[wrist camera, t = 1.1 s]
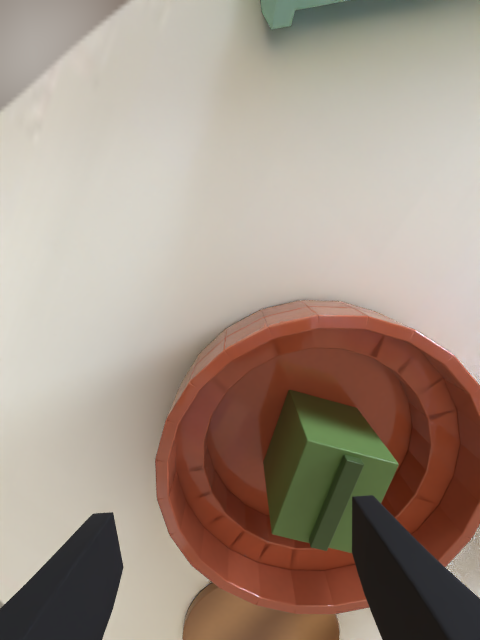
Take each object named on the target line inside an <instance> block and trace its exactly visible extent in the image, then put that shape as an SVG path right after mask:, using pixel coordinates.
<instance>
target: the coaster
mask: <svg viewBox="0 0 480 640" xmlns="http://www.w3.org/2000/svg"><path fill="white" fill-rule="evenodd" d="M183 640H339V624H338V620H337V616H336V614H294V613H288V612H284V611H279V610H275V609H270V608H266V607H261V606H257V605H254V604H252V603H250V602H248V601H245V600H243V599H241V598H239V597H237V596H235V595H233V594H230V593H228V592H226V591H224V590H222V589H220V588H219V587H217V586H216V585H215V584H214V583H211V584H210V585H208V586H207V587H206V588H204V589H203V590H202V591H201V592H200V593H199V594H198V595H197V597H196V598H195V599H194V600H193V602H192V604H191V605H190V607H189V609H188V612H187V614H186V618H185V622H184V628H183Z"/></svg>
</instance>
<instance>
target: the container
mask: <svg viewBox="0 0 480 640" xmlns="http://www.w3.org/2000/svg"><path fill="white" fill-rule="evenodd" d="M260 1H261V9H262V13H263V15H264V17H265V19H266V21H267V23H268V24H269V26H270V28H271V30H272V29H277V28H283V27H288V26H291V24H292V20H293V17H294V13H295V10H300V9H306V8H311V7H317V6H322V5H327V4H333V3H338V2H344V1H349V0H260Z"/></svg>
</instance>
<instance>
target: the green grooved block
mask: <svg viewBox="0 0 480 640" xmlns="http://www.w3.org/2000/svg"><path fill="white" fill-rule="evenodd" d="M263 465H264V474H265V482H266V490H267V499H268V507H269V515H270V523H271V532H272V534H273V535H277V536H281V537H285V538H290V539H294V540H298V541H302V542H306V543H310V547H311V548H315V549H319V550H324V551H327V550H328V548H332V549H336V550H340V551H344V552H348V553H352V497H353V496H368V495H373V496H374V497H375V498H376V499H377V500H378V501H379V502H380V503H382V500H383V498H384V496H385V494H386V492H387V489H388V487H389V485H390V483H391V481H392V479H393V476H394V474H395V472H396V470H397V468H398V465H399V464H398V462H397V461H396V459H395V458H394V457H393V455H392V454H391V453H390V451H389V450H388V449H387V447H386V446H385V445H384V443H383V442H382V441H381V439H380V438H379V437H378V435H377V434H376V433H375V431H374V430H373V429H372V427H371V426H370V425H369V423H368V422H367V421H366V419H365V418H364V417H363V415H362V414H361V412H360V411H359V410H358V408H356V407H352V406H348V405H345V404H341V403H337V402H334V401H330V400H326V399H323V398H319V397H315V396H311V395H308V394H304V393H300V392H297V391H293V390H289V391H288V393H287V396H286V399H285V402H284V405H283V408H282V410H281V413H280V416H279V419H278V422H277V425H276V427H275V430H274V433H273V436H272V439H271V442H270V444H269V447H268V450H267V453H266V456H265V459H264V461H263Z"/></svg>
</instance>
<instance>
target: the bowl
mask: <svg viewBox="0 0 480 640" xmlns="http://www.w3.org/2000/svg"><path fill="white" fill-rule="evenodd" d="M289 390H293V391H297V392H300V393H304V394H308V395H311V396H315V397H319V398H323V399H326V400H330V401H334V402H337V403H341V404H345V405H348V406H352V407H356V408H358V410H359V411H360V412H361V414H362V415H363V417H364V418H365V419H366V421H367V422H368V423H369V425H370V426H371V427H372V429H373V430H374V431H375V433H376V434H377V435H378V437H379V438H380V439H381V441H382V442H383V443H384V445H385V446H386V447H387V449H388V450H389V451H390V453H391V454H392V455H393V457H394V458H395V459H396V461H397V462H398V464H399V465H398V468H397V470H396V472H395V474H394V476H393V479H392V481H391V483H390V485H389V487H388V489H387V492H386V494H385V496H384V498H383V500H382V503H381V504H382V505H383V506H384V507H385V508H386V509H387V510H388V511H389V512H390V513H391V514H392V515H393V516H394V517H395V519H396V520H397V521H398V522H399V523H400V524H401V525H402V526H403V527H404V528H405V529H406V530H407V531H408V532H409V533H410V534H411V535H412V536H413V537H414V538H415V539H416V540H417V541H418V542H419V543H420V544H421V545H422V546H423V547H424V548H425V549H426V550H427V551H428V552H430V553H431V554H432V555H433V556H434V557H435V558H436V559H437V560H438V561H439V562H440V563H441V564H442V565H443V566H444V567H446V566H447V565H448V564H449V563H450V562H451V561H452V560H453V558H454V557H455V556H456V555H457V554H458V553H459V552H460V551H461V550H462V549H463V548H464V547H465V545H466V544H467V543H468V542H469V541H470V540H471V538H472V537H473V536H474V534H475V532H476V530H477V528H478V526H479V525H480V385H479V384H478V383H477V382H476V380H475V379H474V378H473V377H472V376H471V374H470V373H469V372H468V371H467V370H466V369H465V367H464V366H463V365H462V364H461V363H460V361H459V360H458V359H457V358H456V357H455V355H453V354H452V353H451V352H449V351H448V350H446V349H444V348H443V347H441V346H440V345H438V344H437V343H435V342H434V341H432V340H430V339H429V338H427V337H426V336H424V335H423V334H421V333H419V332H418V331H416V330H414V329H412V328H410V327H408V326H406V325H404V324H401V323H399V322H397V321H395V320H393V319H391V318H389V317H387V316H384V315H382V314H380V313H378V312H375V311H372V310H369V309H365V308H362V307H358V306H355V305H352V304H348V303H345V302H340V301H313V300H301V301H300V300H299V301H295V302H290V303H286V304H282V305H278V306H274V307H269V308H265V309H262V310H259V311H258V312H256V313H254V314H252V315H250V316H248V317H246V318H244V319H243V320H241V321H239V322H237V323H235V324H233V325H231V326H229V327H228V328H226V329H225V330H224V331H223V332H222V333H221V334H220V335H219V336H218V337H216V338H215V339H214V340H213V341H212V342H211V343H210V344H209V345H208V346H207V347H206V348H205V349H204V350H203V351H201V352H200V354H199V355H198V356H197V358H196V360H195V361H194V363H193V365H192V366H191V368H190V369H189V371H188V373H187V374H186V376H185V378H184V379H183V381H182V382H181V384H180V387H179V389H178V392H177V394H176V397H175V399H174V401H173V404H172V406H171V409H170V411H169V413H168V416H167V418H166V421H165V425H164V428H163V432H162V436H161V439H160V443H159V447H158V451H157V454H156V460H155V467H156V493H157V501H158V504H159V506H160V509H161V512H162V515H163V518H164V521H165V524H166V526H167V529H168V532H169V534H170V536H171V538H172V539H173V541H174V542H175V543H176V545H177V546H178V548H179V549H180V550H181V552H182V553H183V554H184V556H185V557H186V559H187V560H188V561H189V563H190V564H191V565H192V566H193V567H194V568H195V569H196V570H198V571H199V572H200V573H201V574H203V575H204V576H205V577H206V578H208V579H209V580H210V581H211V582H213V583H214V584H215V585H216V586H217V587H219V588H220V589H222V590H224V591H226V592H228V593H230V594H233V595H235V596H237V597H239V598H241V599H243V600H245V601H248V602H250V603H252V604H254V605H257V606H261V607H266V608H270V609H275V610H279V611H284V612H288V613H294V614H338V613H343V612H348V611H354V610H359V609H364V608H369V605H368V602H367V600H366V597H365V594H364V591H363V588H362V585H361V582H360V578H359V575H358V572H357V568H356V565H355V562H354V558H353V555H352V553H348V552H344V551H340V550H336V549H332V548H328V550H327V551H324V550H319V549H315V548H311V547H310V543H306V542H302V541H298V540H294V539H290V538H285V537H281V536H277V535H273V534H272V532H271V523H270V515H269V507H268V499H267V490H266V482H265V474H264V465H263V461H264V459H265V456H266V453H267V450H268V447H269V444H270V442H271V439H272V436H273V433H274V430H275V427H276V425H277V422H278V419H279V416H280V413H281V410H282V408H283V405H284V402H285V399H286V396H287V393H288V391H289Z"/></svg>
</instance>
